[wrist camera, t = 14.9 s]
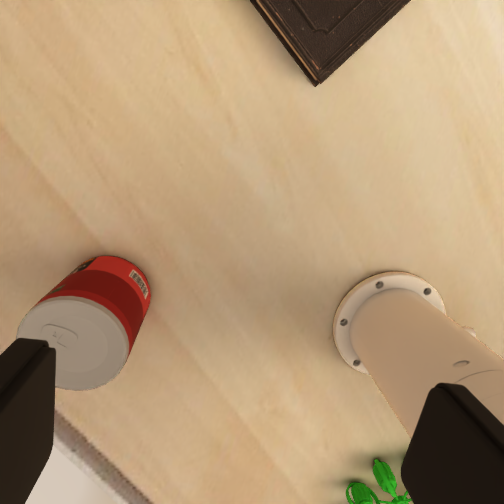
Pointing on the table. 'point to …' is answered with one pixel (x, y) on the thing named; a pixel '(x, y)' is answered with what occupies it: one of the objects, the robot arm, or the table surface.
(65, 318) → the canned food
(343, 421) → the table surface
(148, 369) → the table surface
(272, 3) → the hardcover book
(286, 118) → the table surface
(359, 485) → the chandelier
